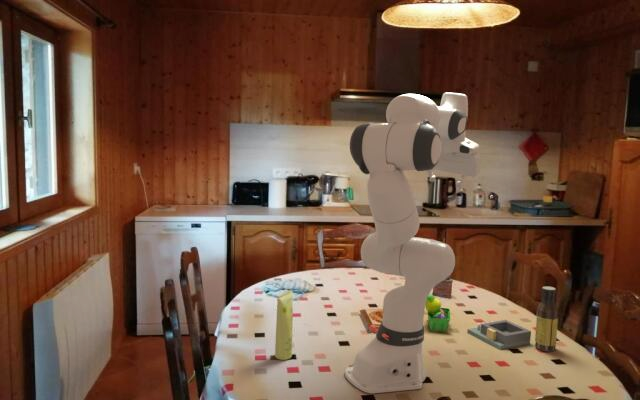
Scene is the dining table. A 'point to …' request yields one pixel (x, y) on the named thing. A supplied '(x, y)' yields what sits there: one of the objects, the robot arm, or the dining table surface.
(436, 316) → the fruit basket
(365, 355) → the robot arm
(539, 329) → the sauce bottle
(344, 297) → the dining table surface
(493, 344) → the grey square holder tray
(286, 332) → the tube
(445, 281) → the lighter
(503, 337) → the socket
